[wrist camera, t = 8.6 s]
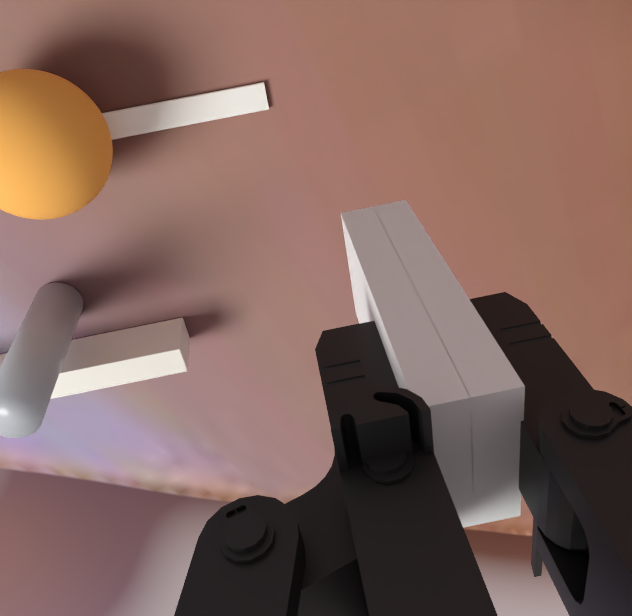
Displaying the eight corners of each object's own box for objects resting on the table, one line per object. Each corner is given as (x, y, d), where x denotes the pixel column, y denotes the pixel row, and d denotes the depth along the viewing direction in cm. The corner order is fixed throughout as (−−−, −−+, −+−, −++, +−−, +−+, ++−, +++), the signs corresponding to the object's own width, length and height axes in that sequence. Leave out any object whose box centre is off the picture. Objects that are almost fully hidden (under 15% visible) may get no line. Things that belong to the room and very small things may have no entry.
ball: (-78, 82, 25) (68, 47, 27) (-12, 216, 28) (114, 175, 30) (-80, 103, 20) (96, 58, 22) (0, 260, 23) (147, 208, 25)
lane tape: (263, 81, 28) (264, 82, 28) (268, 108, 28) (269, 109, 28) (47, 123, 28) (46, 124, 27) (58, 149, 28) (57, 150, 28)
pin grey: (73, 278, 32) (27, 389, 24) (90, 315, 33) (51, 431, 26) (28, 287, 32) (-32, 401, 24) (46, 324, 33) (-5, 442, 26)
